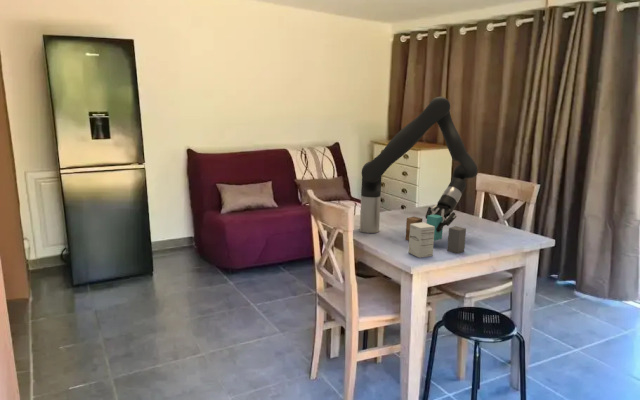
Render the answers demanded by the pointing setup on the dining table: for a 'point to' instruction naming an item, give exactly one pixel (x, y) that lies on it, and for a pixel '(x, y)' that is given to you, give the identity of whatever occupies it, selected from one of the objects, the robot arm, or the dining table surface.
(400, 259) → the dining table surface
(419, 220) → the walnut block
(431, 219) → the teal block
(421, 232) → the supplement box
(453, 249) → the charcoal block
